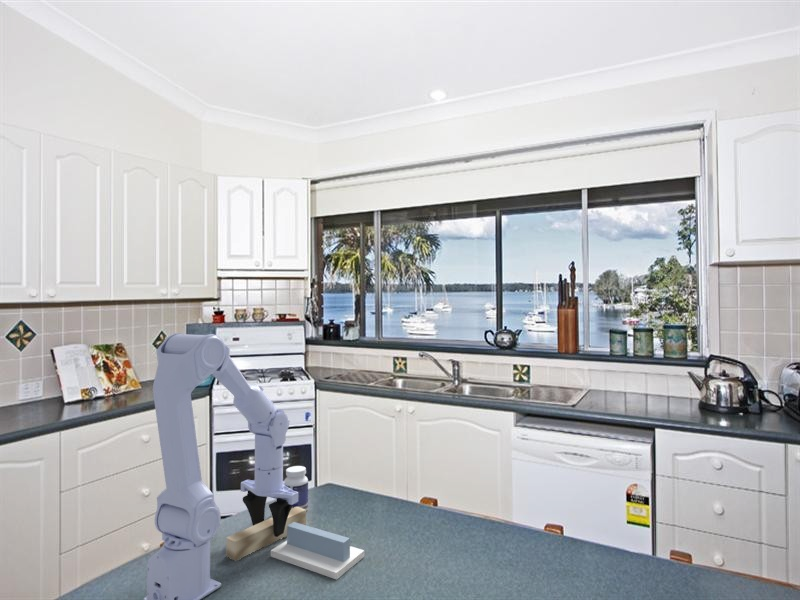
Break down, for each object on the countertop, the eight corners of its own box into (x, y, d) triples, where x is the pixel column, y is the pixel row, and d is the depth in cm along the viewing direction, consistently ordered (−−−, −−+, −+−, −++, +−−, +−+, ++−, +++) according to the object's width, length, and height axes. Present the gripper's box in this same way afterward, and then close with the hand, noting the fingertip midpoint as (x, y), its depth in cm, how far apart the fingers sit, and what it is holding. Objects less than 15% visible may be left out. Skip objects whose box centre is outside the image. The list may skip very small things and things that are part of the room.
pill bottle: (311, 505, 116) (311, 465, 116) (304, 516, 111) (304, 473, 111) (288, 505, 117) (288, 464, 117) (280, 515, 111) (280, 472, 111)
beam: (235, 563, 91) (235, 542, 91) (226, 558, 93) (226, 537, 93) (306, 527, 105) (306, 509, 106) (296, 524, 107) (296, 506, 107)
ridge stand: (336, 579, 85) (336, 552, 85) (270, 556, 93) (270, 531, 93) (364, 556, 93) (364, 531, 93) (301, 537, 101) (301, 514, 101)
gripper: (308, 466, 99) (308, 531, 99) (258, 455, 106) (257, 516, 106) (284, 476, 93) (284, 546, 93) (233, 464, 100) (232, 529, 100)
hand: (268, 531), depth 99 cm, fingers open, 5 cm apart
